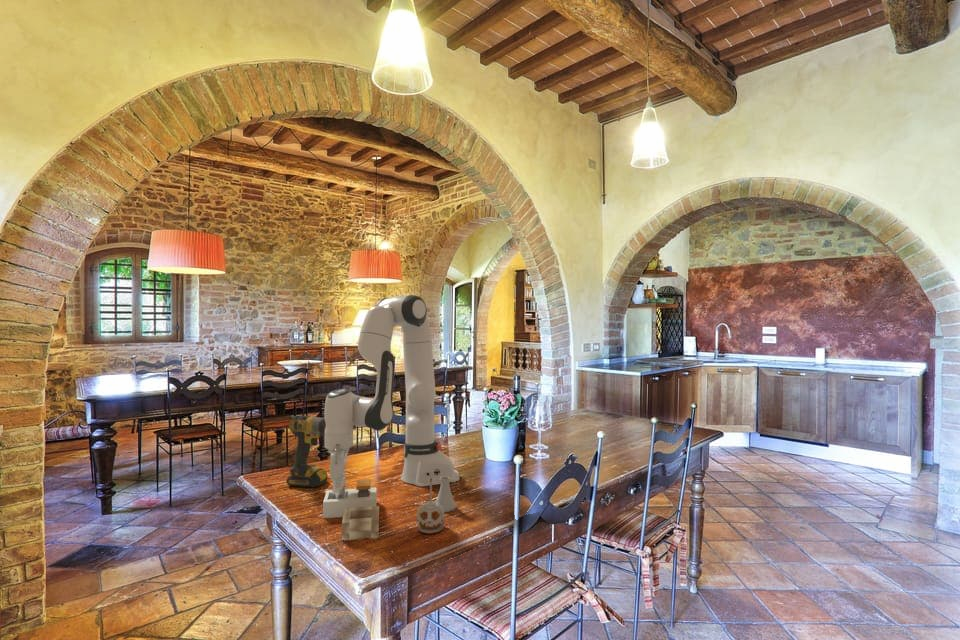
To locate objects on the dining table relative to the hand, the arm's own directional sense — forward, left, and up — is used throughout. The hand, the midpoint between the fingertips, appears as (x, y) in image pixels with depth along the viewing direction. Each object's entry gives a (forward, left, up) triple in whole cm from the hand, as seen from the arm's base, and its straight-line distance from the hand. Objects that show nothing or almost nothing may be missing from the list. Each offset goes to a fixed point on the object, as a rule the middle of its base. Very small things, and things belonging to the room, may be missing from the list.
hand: (339, 483), depth 151 cm
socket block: (-4, 0, -9) cm, 9 cm away
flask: (-34, +4, -9) cm, 35 cm away
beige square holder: (-8, +16, -9) cm, 20 cm away
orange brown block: (-8, 0, -7) cm, 11 cm away
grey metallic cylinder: (0, 0, -8) cm, 8 cm away
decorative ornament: (-28, +18, -9) cm, 34 cm away
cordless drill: (+11, -26, -9) cm, 30 cm away
